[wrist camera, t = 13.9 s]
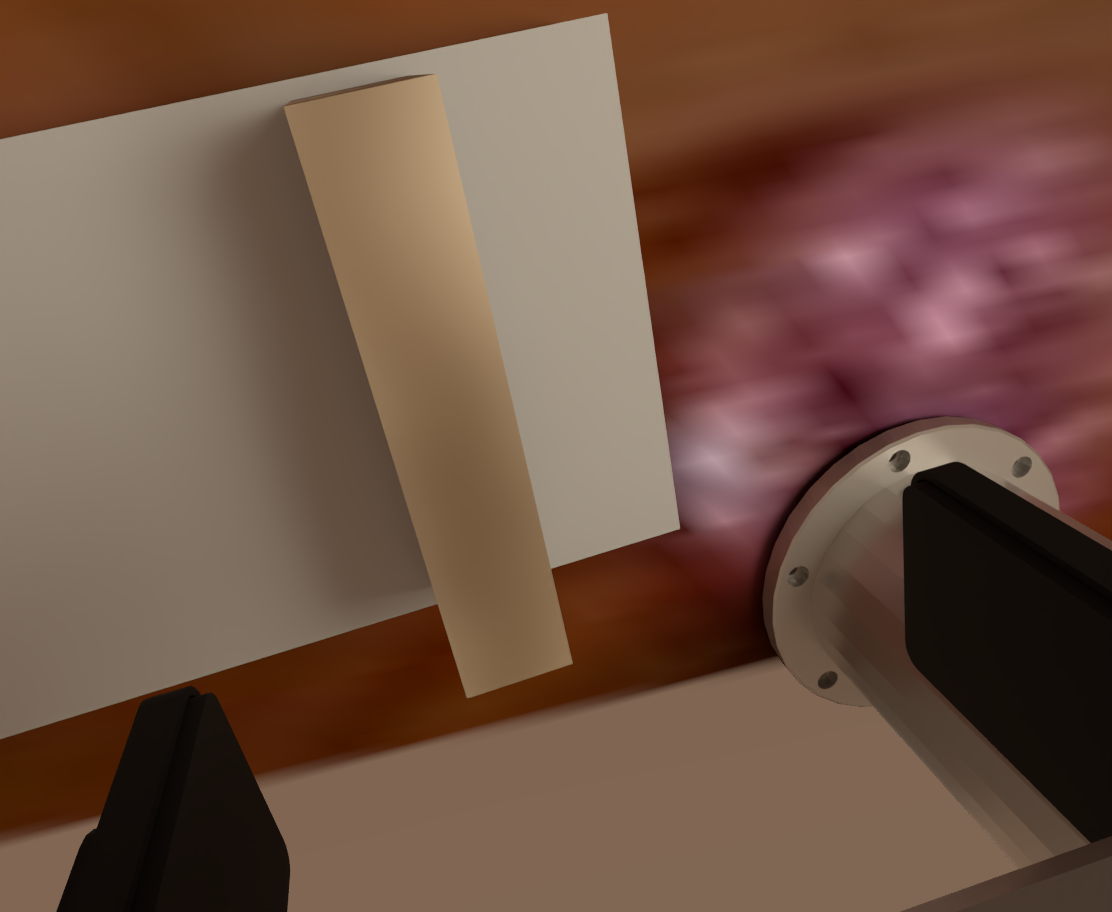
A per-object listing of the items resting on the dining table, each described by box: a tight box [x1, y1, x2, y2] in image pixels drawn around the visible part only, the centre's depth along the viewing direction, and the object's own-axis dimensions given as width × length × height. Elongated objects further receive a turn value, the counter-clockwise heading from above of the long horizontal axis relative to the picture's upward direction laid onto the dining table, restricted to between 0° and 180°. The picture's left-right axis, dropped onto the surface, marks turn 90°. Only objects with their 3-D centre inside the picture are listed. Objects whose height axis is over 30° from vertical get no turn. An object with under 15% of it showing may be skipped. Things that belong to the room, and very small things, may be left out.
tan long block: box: [283, 74, 573, 699], centre depth 19 cm, size 3×13×5 cm, turn 11°
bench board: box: [0, 13, 680, 739], centre depth 23 cm, size 20×14×4 cm
